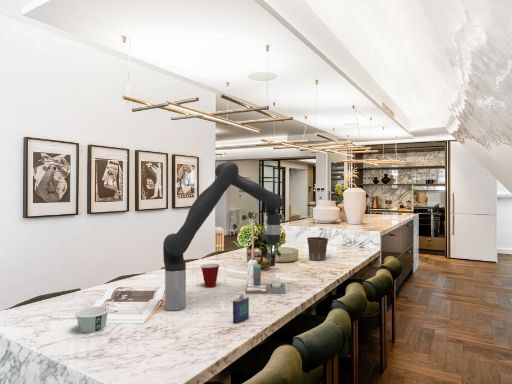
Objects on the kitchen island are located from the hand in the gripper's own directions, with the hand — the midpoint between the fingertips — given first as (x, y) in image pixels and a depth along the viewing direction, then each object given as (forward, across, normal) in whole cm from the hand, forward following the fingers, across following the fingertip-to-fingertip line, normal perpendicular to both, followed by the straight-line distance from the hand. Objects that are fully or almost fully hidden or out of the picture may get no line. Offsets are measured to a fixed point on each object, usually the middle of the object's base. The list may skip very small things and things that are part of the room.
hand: (272, 266), depth 190 cm
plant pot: (+12, +86, -35) cm, 94 cm away
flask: (+14, -43, +13) cm, 47 cm away
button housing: (+13, -1, -2) cm, 13 cm away
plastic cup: (+14, +8, +34) cm, 38 cm away
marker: (+12, +8, +8) cm, 17 cm away
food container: (+15, -53, +70) cm, 89 cm away
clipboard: (+13, +3, +8) cm, 16 cm away
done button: (+13, -1, -2) cm, 13 cm away
